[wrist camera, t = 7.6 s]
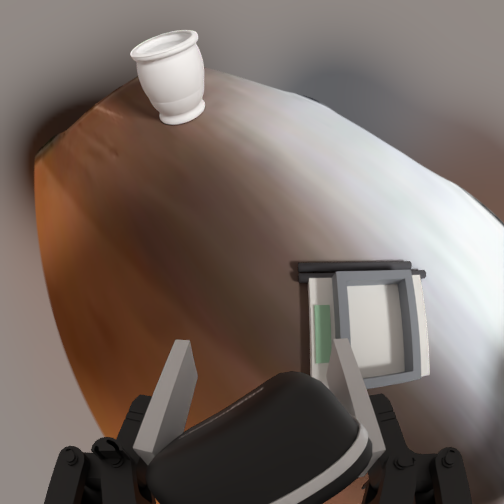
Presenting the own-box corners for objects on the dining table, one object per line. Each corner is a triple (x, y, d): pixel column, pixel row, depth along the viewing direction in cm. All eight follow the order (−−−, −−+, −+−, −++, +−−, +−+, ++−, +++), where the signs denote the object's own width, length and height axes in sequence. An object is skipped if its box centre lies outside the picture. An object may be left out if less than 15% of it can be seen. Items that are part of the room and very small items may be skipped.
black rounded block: (286, 361, 16) (320, 350, 6) (320, 404, 15) (401, 451, 5) (198, 418, 15) (105, 474, 5) (232, 461, 14) (188, 562, 3)
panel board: (416, 277, 29) (428, 268, 26) (425, 374, 24) (439, 374, 21) (307, 280, 29) (312, 271, 27) (310, 391, 24) (315, 394, 22)
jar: (183, 136, 40) (159, 57, 26) (143, 122, 42) (117, 56, 29) (222, 102, 43) (212, 30, 29) (182, 92, 46) (166, 29, 32)
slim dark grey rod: (419, 262, 29) (423, 259, 28) (422, 279, 28) (426, 276, 28) (297, 264, 30) (298, 261, 29) (298, 283, 29) (299, 280, 28)
